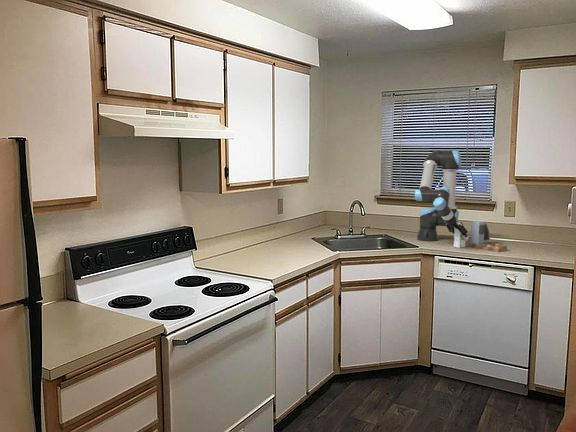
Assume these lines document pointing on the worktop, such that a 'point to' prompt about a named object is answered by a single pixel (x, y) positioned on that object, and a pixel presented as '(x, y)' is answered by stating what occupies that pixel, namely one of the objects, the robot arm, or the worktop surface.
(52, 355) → the worktop surface
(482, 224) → the blue-grey tall block
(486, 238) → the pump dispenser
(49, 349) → the worktop surface
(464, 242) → the syrup box
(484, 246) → the rail
